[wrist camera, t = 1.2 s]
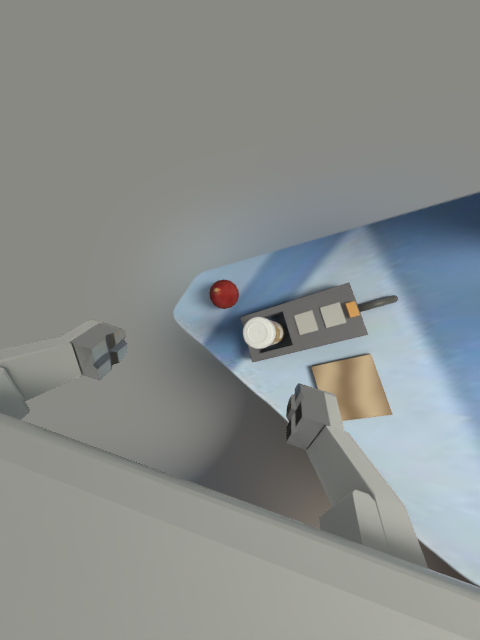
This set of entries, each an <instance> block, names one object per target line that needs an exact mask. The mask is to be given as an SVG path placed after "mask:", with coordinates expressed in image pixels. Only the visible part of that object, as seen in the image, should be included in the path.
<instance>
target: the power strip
mask: <svg viewBox="0 0 480 640" xmlns="http://www.w3.org/2000/svg"><path fill="white" fill-rule="evenodd" d="M397 300H398V297H397V296H395V295H393V296H389V297H386V298H382V299H379V300H375V301H372V302H368V303H365V304H361V305H357V303H356V300H355V297H354V294H353V291H352V289H351V286H350V283H346V284H343V285H340V286H337V287H333V288H330V289H327V290H324V291H321V292H318V293H315V294H312V295H309V296H305V297H302V298H299V299H296V300H293V301H290V302H287V303H284V304H281V305H277V306H274V307H271V308H268V309H265V310H262V311H259V312H256V313H253V314H249V315H246V316H243V317H240V318H241V322H242V326H243V328H244V326H245V324H246V322H247V321H248V320H250V319H252V318H254V317H263V318H266V319H267V318H270V317H273V316H276V315H280V314H284V317H285V321H286V324H287V327H288V331H289V334H290V337H291V341H292V345H288V346H285V347H281V348H277V349H273V350H269V351H265V352H263V348H262V349H255V348H252V347H250V346H249V345H248V348H249V352H250V356H251V359H252V362H256V361H261V360H265V359H269V358H273V357H277V356H281V355H285V354H290V353H294V352H298V351H302V350H306V349H310V348H314V347H319V346H323V345H327V344H331V343H335V342H339V341H343V340H348V339H352V338H356V337H360V336H364V335H368V333H367V330H366V328H365V325H364V322H363V319H362V316H361V314H360V312H362V311H365V310H369V309H372V308H376V307H380V306H383V305H387V304H391V303H394V302H396V301H397Z"/></svg>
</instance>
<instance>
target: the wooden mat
mask: <svg viewBox="0 0 480 640" xmlns="http://www.w3.org/2000/svg"><path fill="white" fill-rule="evenodd" d="M311 368H312V371H313V374H314V377H315V381H316V384H317V387H318V389H319V390H323V391H326V392H329V393H333V394H335V396H336V398H337V403H338V407H339V411H340V415H341V419H342V421H345V420H353V419H361V418H369V417H376V416H384V415H392V412H391V409H390V406H389V403H388V401H387V398H386V395H385V392H384V389H383V387H382V384H381V381H380V378H379V375H378V373H377V370H376V367H375V364H374V361H373V359H372V356H371V354H366V355H362V356H357V357H352V358H348V359H343V360H338V361H334V362H329V363H324V364H320V365H315V366H311Z"/></svg>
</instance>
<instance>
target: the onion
mask: <svg viewBox="0 0 480 640" xmlns="http://www.w3.org/2000/svg"><path fill="white" fill-rule="evenodd" d="M238 297H239V293H238V289H237V287H236V285H235V284H234V283H232V282H231V281H228V280H220V281H217V282H216V283H214V284H213V285H212V287H211V289H210V299H211V301H212V302H213V304H214V305H215V306H217V307H219V308H223V309H226V308H231V307H232V306H234V305H235V304H236V302H237V301H238Z"/></svg>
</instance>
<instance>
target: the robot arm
mask: <svg viewBox="0 0 480 640" xmlns="http://www.w3.org/2000/svg"><path fill="white" fill-rule="evenodd" d="M125 337H126V333H125V330H123V329H121V328H117V327H115V326H112V325H109V324H106V323H102V322H99V321H96V320H88V321H86V322H85V323H83V324H81V325H80V326H78V327H76V328H74V329H73V330H71V331H69V332H67V333H66V334H64V335H62V336H60V337H59V338H57V339H56V338H50V339H45V340H41V341H36V342H32V343H27V344H23V345H18V346H14V347H9V348H4V349H0V640H480V588H479V587H477V586H474V585H471V584H468V583H466V582H463V581H460V580H458V579H454V578H452V577H449V576H447V575H444V574H441V573H438V572H436V571H433V570H430V569H428V567H427V564H426V561H425V559H424V556H423V553H422V551H421V548H420V545H419V543H418V540H417V537H416V534H415V532H414V529H413V526H412V524H411V521H410V518H409V516H408V513H407V510H406V508H405V505H404V504H403V503H402V501H401V500H400V499H399V497H398V496H397V495H396V494H395V492H394V491H393V490H392V488H391V487H390V486H389V485H388V483H387V482H386V481H385V479H384V478H383V477H382V476H381V474H380V473H379V472H378V470H377V469H376V468H375V466H374V465H373V464H372V463H371V461H370V460H369V459H368V457H367V456H366V455H365V454H364V452H363V451H362V450H361V448H360V447H359V446H358V445H357V443H356V442H355V441H354V439H353V438H352V437H351V436H350V434H349V433H348V432H345V431H344V428H343V423H342V419H341V415H340V411H339V407H338V403H337V398H336V396H335V394H333V393H329V392H326V391H323V390H319V389H316V388H313V387H309V386H306V385H303V384H298V385H297V386H296V388H295V394H294V395H291V397H290V399H289V402H288V406H287V414H286V417H287V419H288V420H289V423H288V424H287V426H286V443H289V444H291V445H294V446H297V447H300V448H302V449H305V450H307V451H306V452H307V454H308V456H309V458H310V460H311V462H312V465H313V467H314V469H315V471H316V473H317V475H318V477H319V479H320V482H321V484H322V486H323V488H324V490H325V492H326V494H327V496H328V499H329V501H330V503H331V505H332V507H331V508H330V509H329V510H328V511H326V512H325V513H324V514H322V515H321V516H320V517H319V519H320V529H318V528H315V527H312V526H309V525H307V524H304V523H301V522H299V521H296V520H293V519H290V518H288V517H285V516H282V515H279V514H277V513H274V512H271V511H269V510H266V509H263V508H260V507H258V506H255V505H252V504H250V503H247V502H244V501H241V500H239V499H236V498H233V497H230V496H228V495H225V494H222V493H219V492H217V491H214V490H211V489H208V488H206V487H203V486H200V485H198V484H195V483H192V482H189V481H186V480H184V479H181V478H178V477H175V476H173V475H170V474H167V473H165V472H162V471H159V470H156V469H153V468H151V467H148V466H146V465H143V464H140V463H137V462H135V461H132V460H129V459H126V458H124V457H121V456H118V455H115V454H113V453H110V452H107V451H104V450H102V449H99V448H96V447H94V446H90V445H88V444H85V443H83V442H80V441H77V440H74V439H71V438H69V437H66V436H63V435H61V434H58V433H55V432H52V431H50V430H47V429H44V428H41V427H39V426H36V425H33V424H31V423H28V422H25V421H22V420H21V419H22V418H23V417H25V416H26V415H27V414H28V413H29V411H30V409H29V407H28V406H27V404H26V402H25V401H26V400H29V399H31V398H33V397H35V396H38V395H40V394H42V393H45V392H47V391H49V390H51V389H54V388H56V387H58V386H60V385H63V384H65V383H67V382H69V381H72V380H74V379H76V378H78V377H81V376H82V375H84V376H88V377H91V378H94V379H98V380H101V379H102V378H103V377H104V376H105V375H106V374H107V373H108V372H110V371H111V369H112V365H114V364H117V363H119V362H120V361H121V360H122V359H123V358H124V357H125V355H126V353H127V348H128V347H127V343H126V342H125V340H124V338H125Z"/></svg>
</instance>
